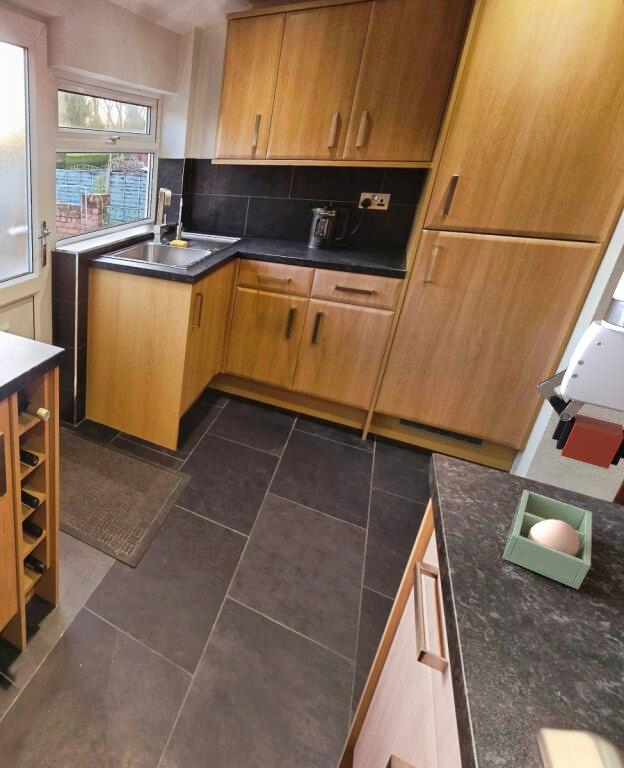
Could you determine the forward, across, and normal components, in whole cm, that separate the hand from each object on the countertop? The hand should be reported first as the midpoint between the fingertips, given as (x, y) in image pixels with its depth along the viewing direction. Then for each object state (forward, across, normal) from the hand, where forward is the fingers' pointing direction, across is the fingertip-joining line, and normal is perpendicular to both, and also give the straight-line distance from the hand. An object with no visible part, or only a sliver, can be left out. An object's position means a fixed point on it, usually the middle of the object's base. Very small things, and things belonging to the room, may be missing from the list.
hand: (585, 451), depth 65 cm
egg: (+15, 0, +5) cm, 15 cm away
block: (+1, 0, 0) cm, 1 cm away
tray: (+15, 0, +1) cm, 15 cm away
